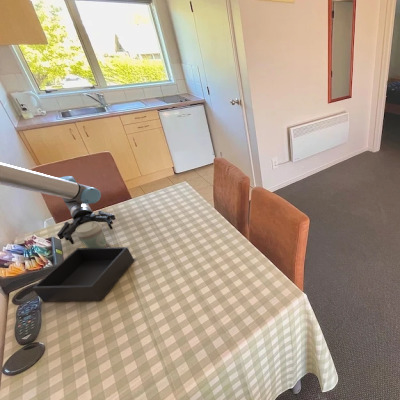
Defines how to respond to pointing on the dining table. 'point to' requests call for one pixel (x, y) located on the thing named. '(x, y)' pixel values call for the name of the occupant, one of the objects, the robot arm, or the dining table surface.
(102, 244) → the coffee cup
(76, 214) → the robot arm
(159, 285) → the dining table surface
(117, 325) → the dining table surface
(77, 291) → the shallow black tray
